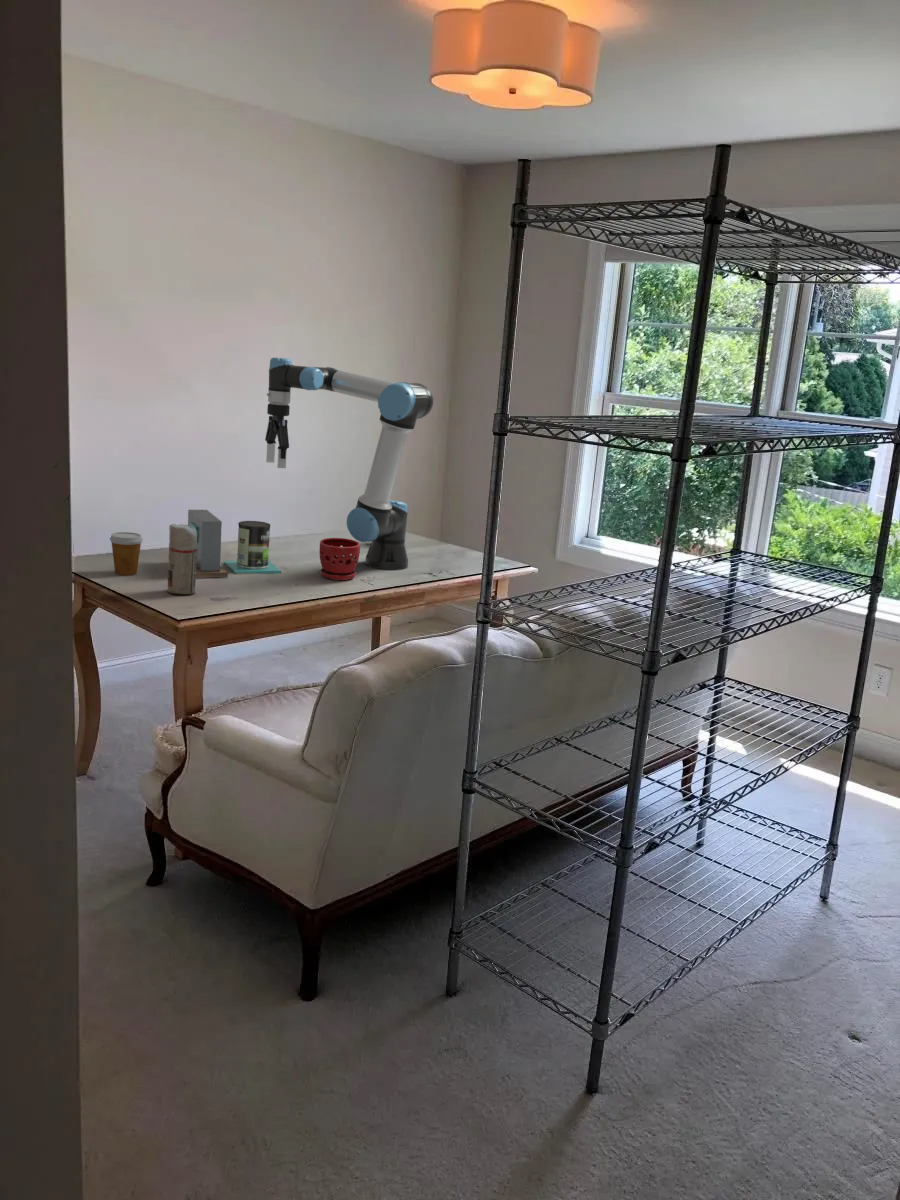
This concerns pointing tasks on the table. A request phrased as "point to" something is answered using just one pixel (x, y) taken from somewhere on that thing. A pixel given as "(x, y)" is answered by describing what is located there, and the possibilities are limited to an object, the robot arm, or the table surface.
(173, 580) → the spray can
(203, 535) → the mounted unit
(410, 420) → the robot arm
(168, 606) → the table surface
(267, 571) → the pad
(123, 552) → the disposable coffee cup
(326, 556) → the plant pot
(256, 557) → the coffee can
